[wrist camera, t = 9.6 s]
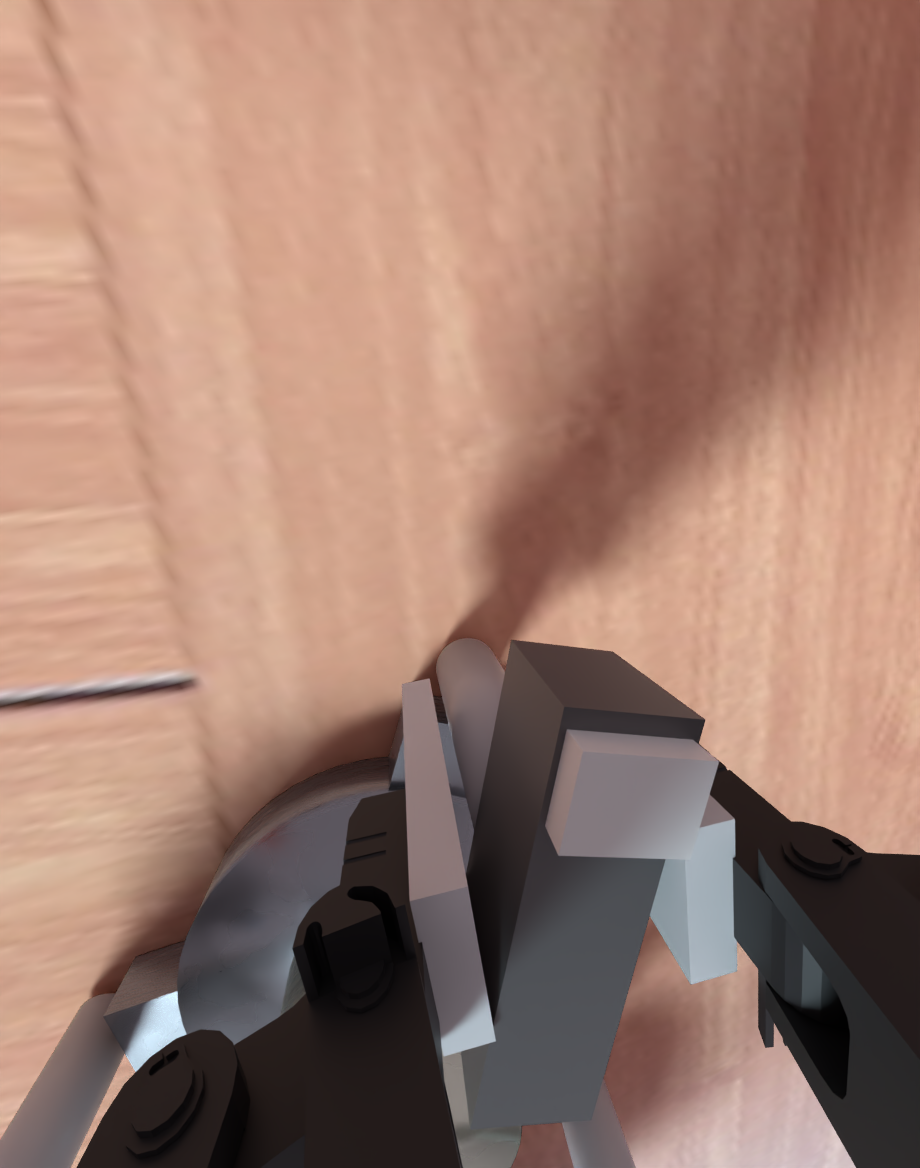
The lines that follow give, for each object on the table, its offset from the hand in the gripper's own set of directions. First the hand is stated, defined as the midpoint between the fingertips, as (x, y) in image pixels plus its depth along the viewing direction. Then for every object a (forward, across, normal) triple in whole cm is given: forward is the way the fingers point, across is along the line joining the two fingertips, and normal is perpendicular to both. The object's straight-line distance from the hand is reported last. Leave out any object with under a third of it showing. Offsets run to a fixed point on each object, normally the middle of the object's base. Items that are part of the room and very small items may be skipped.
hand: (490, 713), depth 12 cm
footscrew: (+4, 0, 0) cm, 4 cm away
